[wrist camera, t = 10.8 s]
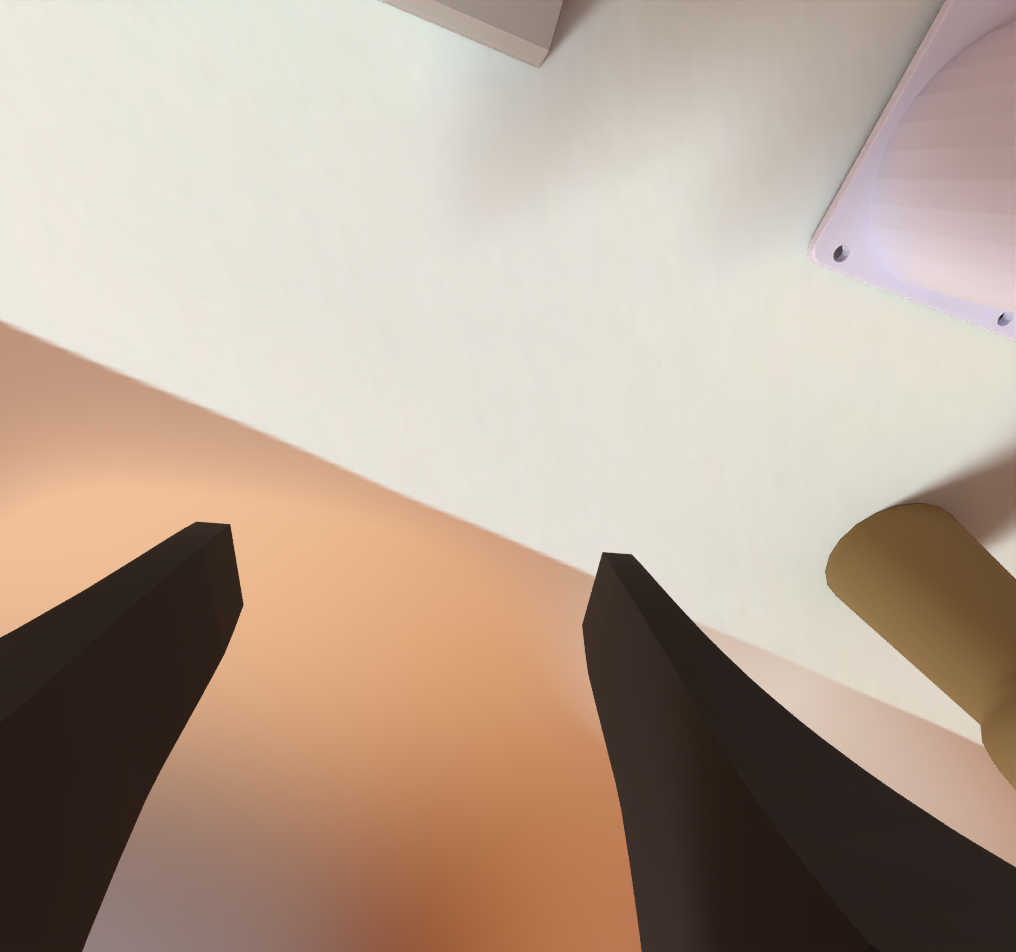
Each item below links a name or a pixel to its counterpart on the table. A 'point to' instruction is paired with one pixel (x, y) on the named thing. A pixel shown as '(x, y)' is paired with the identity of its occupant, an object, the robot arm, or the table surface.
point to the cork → (938, 611)
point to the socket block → (494, 22)
